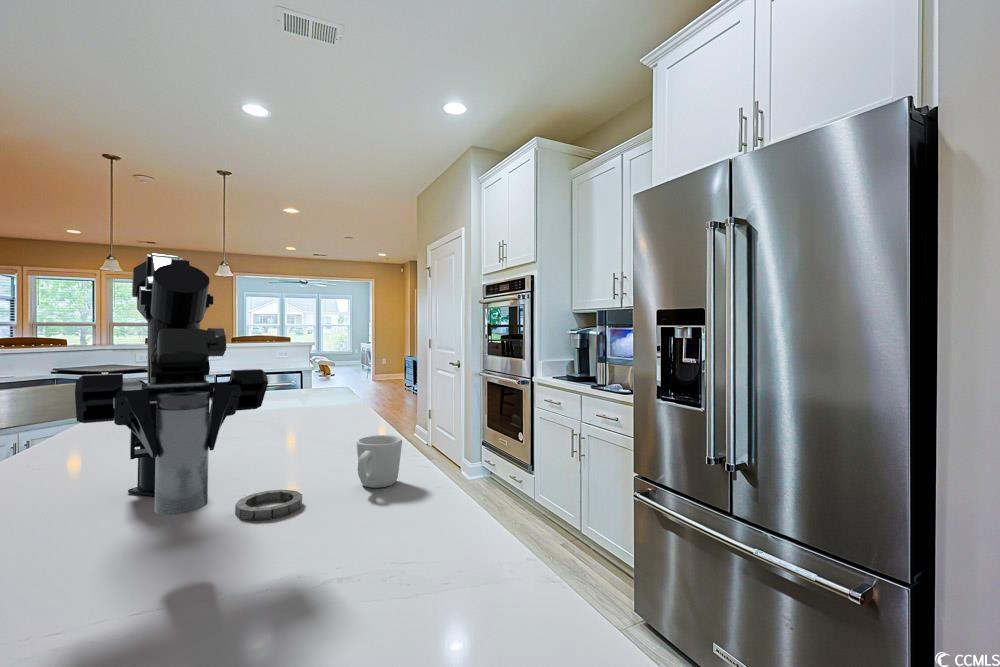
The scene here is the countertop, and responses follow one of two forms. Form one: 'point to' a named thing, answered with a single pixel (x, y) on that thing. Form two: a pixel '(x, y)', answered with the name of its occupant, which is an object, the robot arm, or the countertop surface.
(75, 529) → the countertop surface
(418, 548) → the countertop surface
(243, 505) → the ring
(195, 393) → the dark grey metallic cylinder
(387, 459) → the cup
